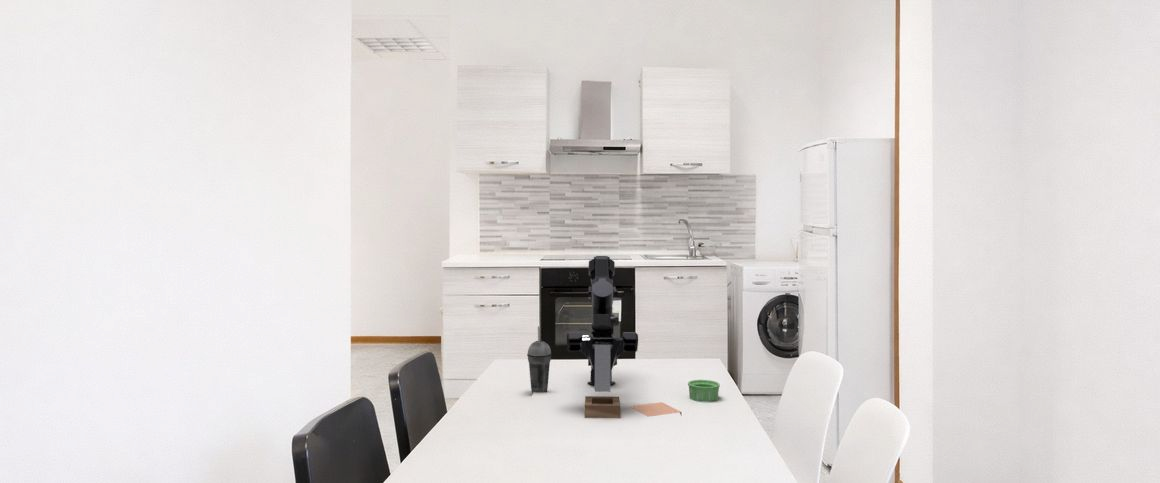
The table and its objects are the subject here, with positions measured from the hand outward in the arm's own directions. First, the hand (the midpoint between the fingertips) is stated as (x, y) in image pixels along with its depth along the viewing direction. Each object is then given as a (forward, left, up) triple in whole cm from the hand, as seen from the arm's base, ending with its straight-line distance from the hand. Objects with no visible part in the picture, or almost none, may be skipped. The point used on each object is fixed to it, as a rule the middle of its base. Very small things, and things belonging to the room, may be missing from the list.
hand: (602, 369), depth 160 cm
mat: (-13, +7, -12) cm, 19 cm away
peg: (-1, -1, -6) cm, 6 cm away
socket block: (-1, -1, -12) cm, 13 cm away
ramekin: (-35, +9, -13) cm, 38 cm away
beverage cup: (-6, -29, -13) cm, 33 cm away
